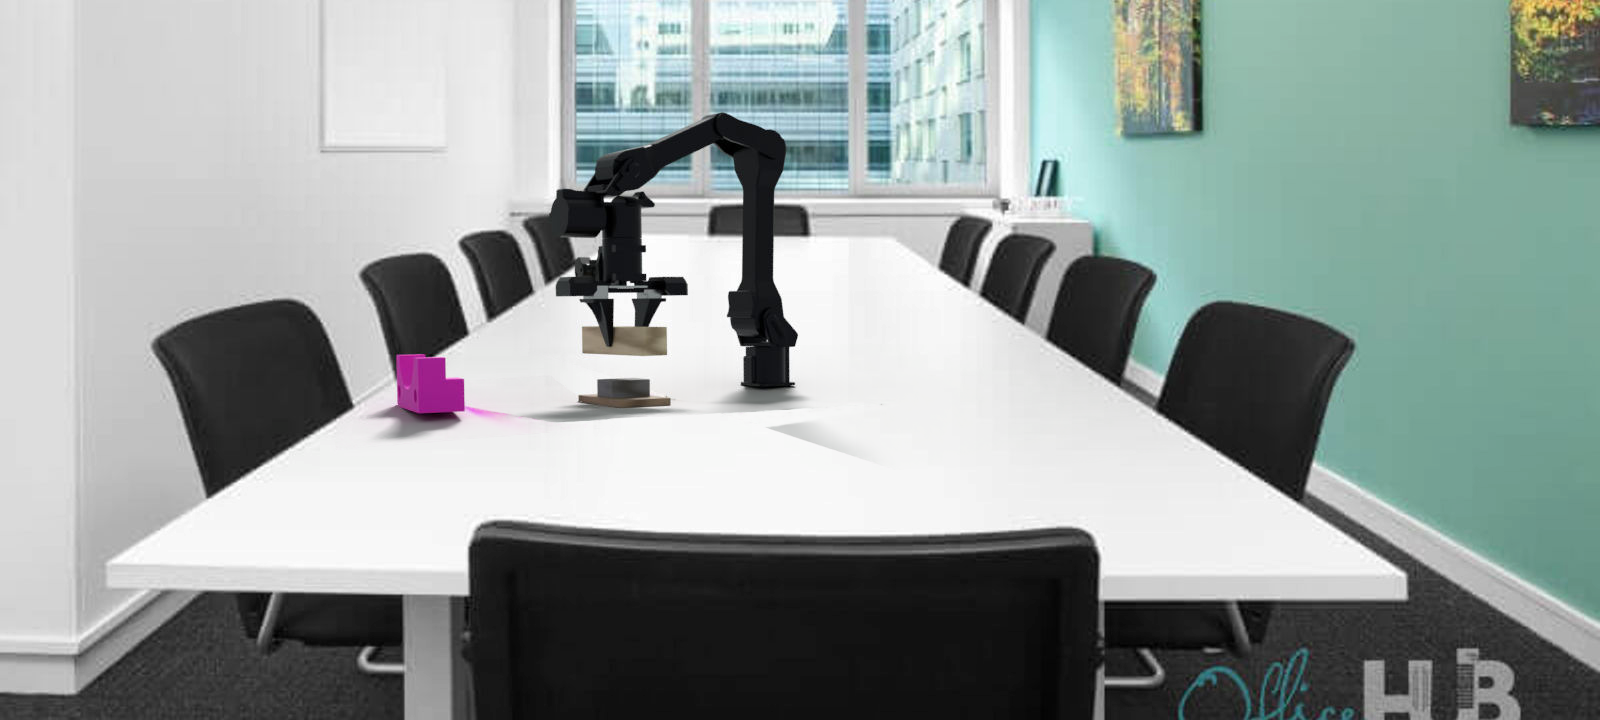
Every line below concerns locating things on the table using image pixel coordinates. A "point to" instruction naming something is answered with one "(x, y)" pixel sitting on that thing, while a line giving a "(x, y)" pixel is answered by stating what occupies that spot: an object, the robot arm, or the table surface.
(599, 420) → the table surface
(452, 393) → the toy block
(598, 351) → the beam
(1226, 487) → the table surface
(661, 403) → the fulcrum stand
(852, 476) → the table surface
